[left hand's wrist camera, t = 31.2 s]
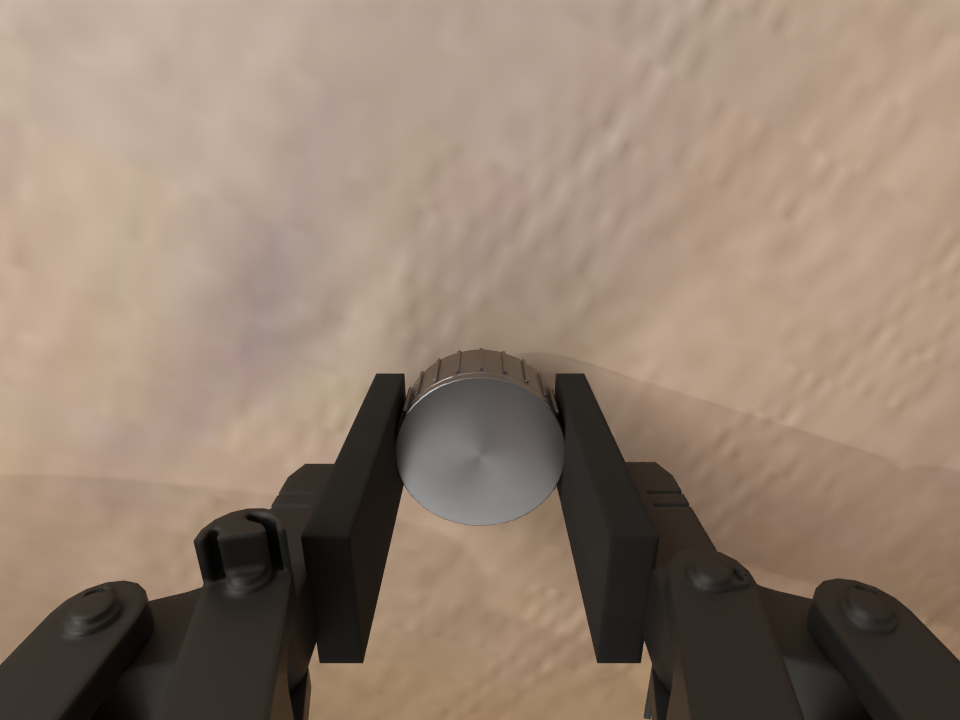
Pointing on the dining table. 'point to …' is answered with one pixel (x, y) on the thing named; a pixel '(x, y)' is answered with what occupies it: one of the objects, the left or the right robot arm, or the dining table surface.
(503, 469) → the cap
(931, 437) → the dining table surface
